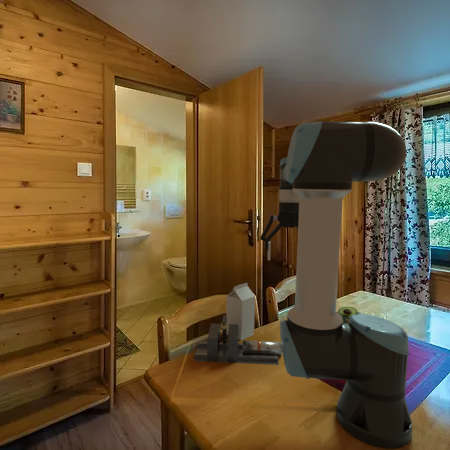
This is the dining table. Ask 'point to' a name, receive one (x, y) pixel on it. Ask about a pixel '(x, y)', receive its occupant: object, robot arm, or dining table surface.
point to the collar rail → (228, 348)
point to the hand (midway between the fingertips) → (287, 260)
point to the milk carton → (241, 310)
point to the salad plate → (347, 313)
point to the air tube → (262, 347)
